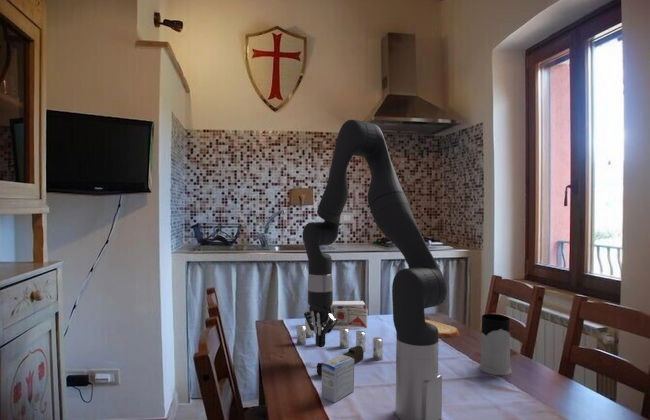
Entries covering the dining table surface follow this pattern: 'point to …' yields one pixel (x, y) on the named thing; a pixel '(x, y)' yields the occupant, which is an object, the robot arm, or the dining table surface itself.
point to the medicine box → (337, 378)
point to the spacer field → (343, 339)
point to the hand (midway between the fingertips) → (320, 346)
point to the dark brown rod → (352, 352)
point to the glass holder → (495, 344)
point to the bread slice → (445, 330)
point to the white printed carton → (349, 314)
